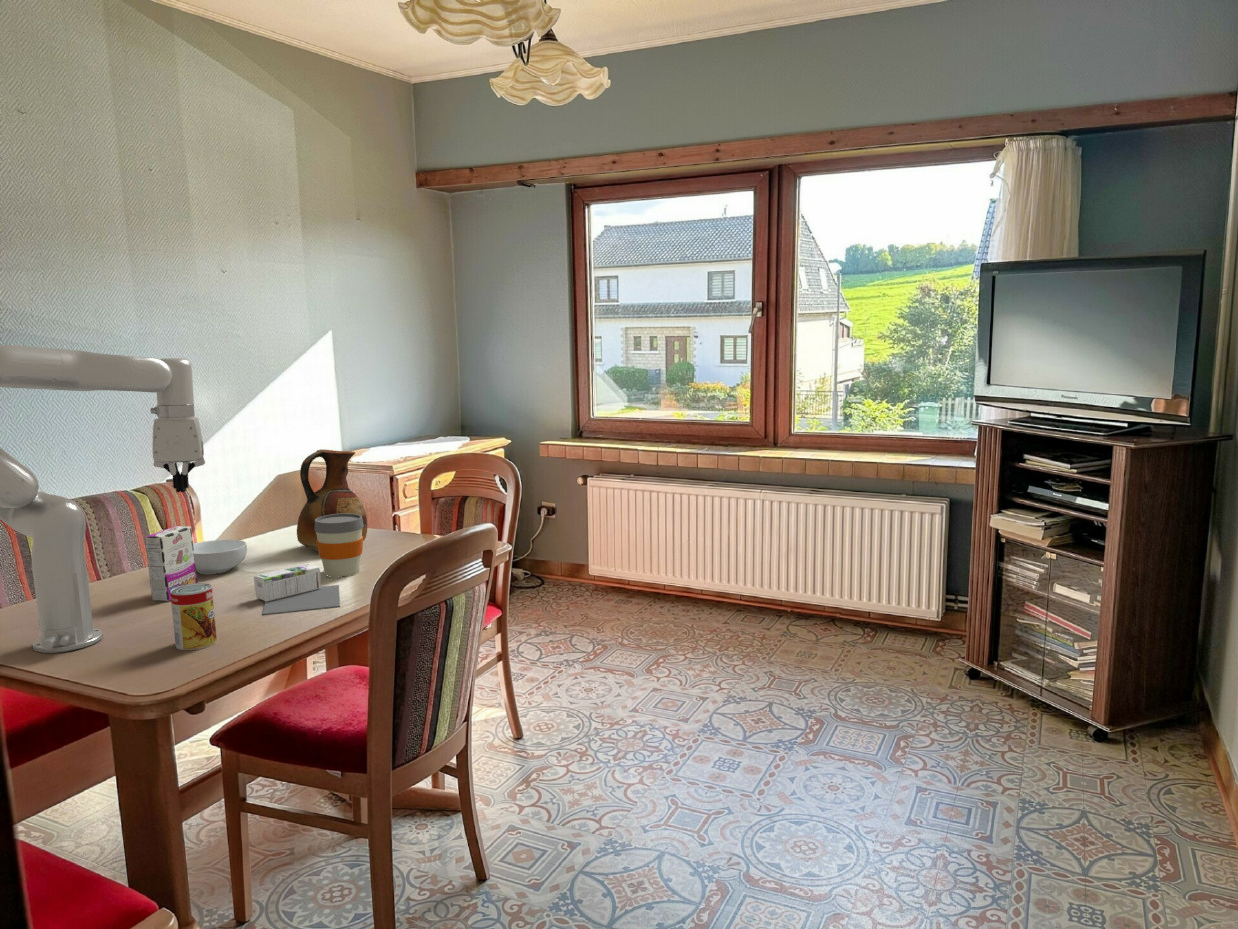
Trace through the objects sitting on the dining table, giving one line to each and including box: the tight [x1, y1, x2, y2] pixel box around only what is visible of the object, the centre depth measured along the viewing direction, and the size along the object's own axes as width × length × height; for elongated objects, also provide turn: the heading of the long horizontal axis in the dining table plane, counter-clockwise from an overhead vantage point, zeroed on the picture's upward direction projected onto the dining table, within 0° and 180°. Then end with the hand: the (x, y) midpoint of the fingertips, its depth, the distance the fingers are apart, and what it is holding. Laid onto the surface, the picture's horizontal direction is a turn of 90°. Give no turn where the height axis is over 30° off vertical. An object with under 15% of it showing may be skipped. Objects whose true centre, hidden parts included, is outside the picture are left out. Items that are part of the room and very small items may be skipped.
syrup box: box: [253, 563, 322, 602], centre depth 218 cm, size 6×6×14 cm
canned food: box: [170, 582, 218, 651], centre depth 185 cm, size 8×8×12 cm
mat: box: [262, 584, 341, 616], centre depth 214 cm, size 18×17×1 cm
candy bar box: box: [144, 525, 198, 602], centre depth 219 cm, size 11×5×16 cm, turn 168°
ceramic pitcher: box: [296, 448, 368, 551], centre depth 262 cm, size 20×20×30 cm
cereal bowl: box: [193, 539, 248, 575], centre depth 242 cm, size 17×17×7 cm
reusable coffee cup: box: [315, 513, 364, 578], centre depth 237 cm, size 13×13×15 cm
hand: (181, 491), depth 205 cm, fingers closed
